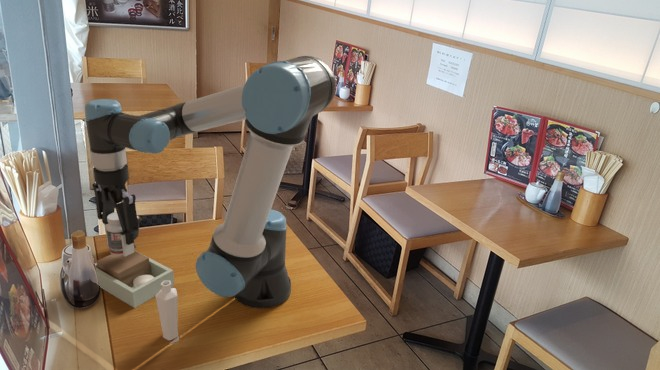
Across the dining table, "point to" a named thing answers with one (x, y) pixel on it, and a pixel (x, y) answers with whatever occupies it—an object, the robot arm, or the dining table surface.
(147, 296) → the tote
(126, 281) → the walnut block
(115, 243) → the pill bottle
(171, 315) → the perfume bottle
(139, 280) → the white half dome
